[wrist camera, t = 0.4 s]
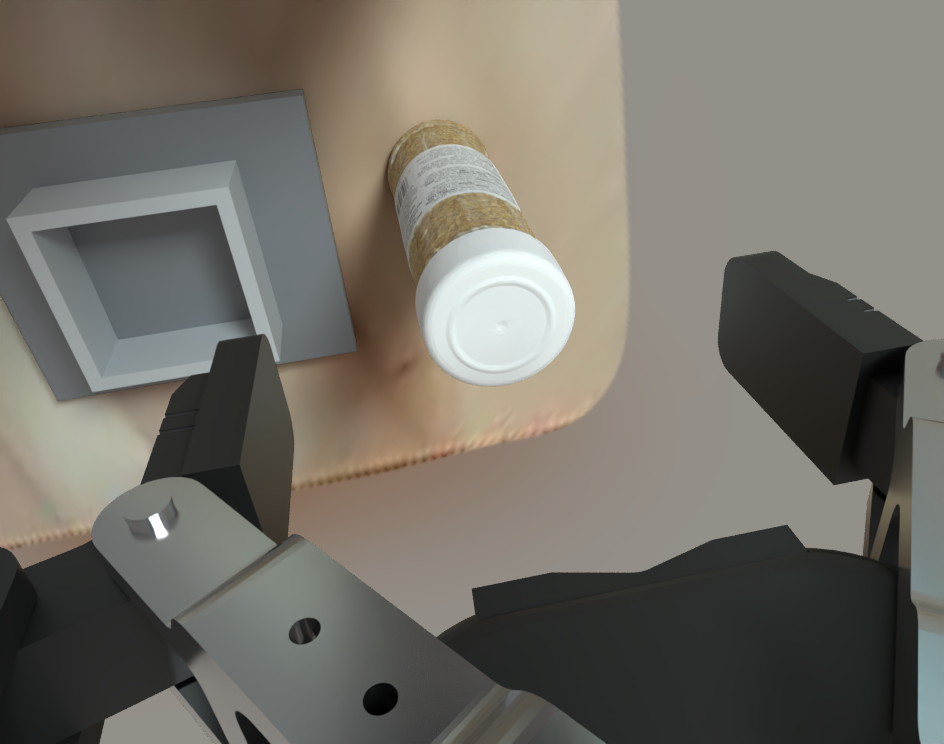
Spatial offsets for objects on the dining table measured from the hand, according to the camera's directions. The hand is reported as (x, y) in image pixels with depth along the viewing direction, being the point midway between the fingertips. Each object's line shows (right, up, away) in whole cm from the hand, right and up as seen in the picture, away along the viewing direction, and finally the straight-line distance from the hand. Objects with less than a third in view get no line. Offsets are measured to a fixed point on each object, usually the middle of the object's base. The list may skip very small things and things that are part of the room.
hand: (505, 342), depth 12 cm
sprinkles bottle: (-2, +8, +19) cm, 21 cm away
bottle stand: (-14, +5, +19) cm, 24 cm away
